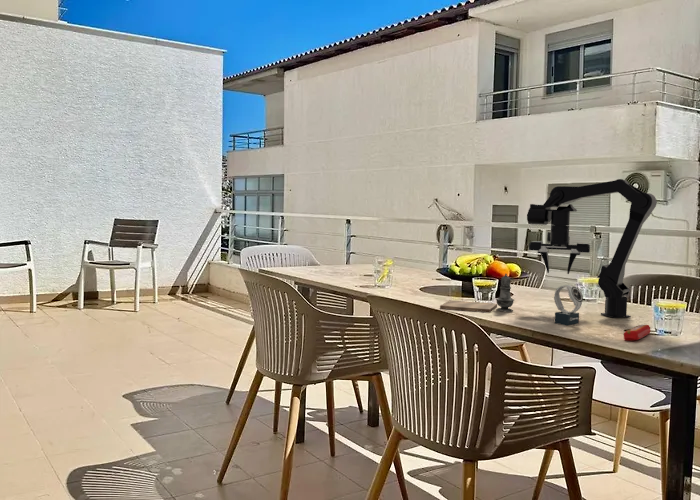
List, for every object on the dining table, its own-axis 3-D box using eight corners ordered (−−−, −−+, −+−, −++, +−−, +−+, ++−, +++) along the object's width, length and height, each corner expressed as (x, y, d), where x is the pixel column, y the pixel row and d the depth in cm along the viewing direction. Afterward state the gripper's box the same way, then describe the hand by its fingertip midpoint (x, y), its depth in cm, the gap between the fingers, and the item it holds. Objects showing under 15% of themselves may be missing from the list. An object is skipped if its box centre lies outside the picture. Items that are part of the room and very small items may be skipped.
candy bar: (637, 333, 179) (638, 322, 179) (652, 335, 177) (652, 323, 177) (621, 342, 167) (621, 330, 166) (636, 344, 164) (637, 332, 164)
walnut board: (497, 306, 221) (497, 303, 221) (490, 312, 208) (490, 309, 208) (449, 303, 227) (449, 300, 227) (440, 308, 214) (440, 305, 214)
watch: (574, 326, 186) (576, 287, 185) (549, 322, 192) (550, 284, 191) (585, 324, 189) (586, 286, 189) (560, 320, 196) (561, 283, 195)
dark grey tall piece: (514, 312, 210) (515, 274, 209) (495, 311, 211) (496, 273, 210) (513, 309, 216) (515, 272, 215) (495, 308, 217) (496, 272, 216)
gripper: (591, 225, 219) (589, 273, 220) (533, 224, 226) (531, 270, 227) (590, 226, 209) (588, 275, 210) (529, 224, 215) (527, 272, 216)
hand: (558, 273), depth 216 cm, fingers open, 6 cm apart
